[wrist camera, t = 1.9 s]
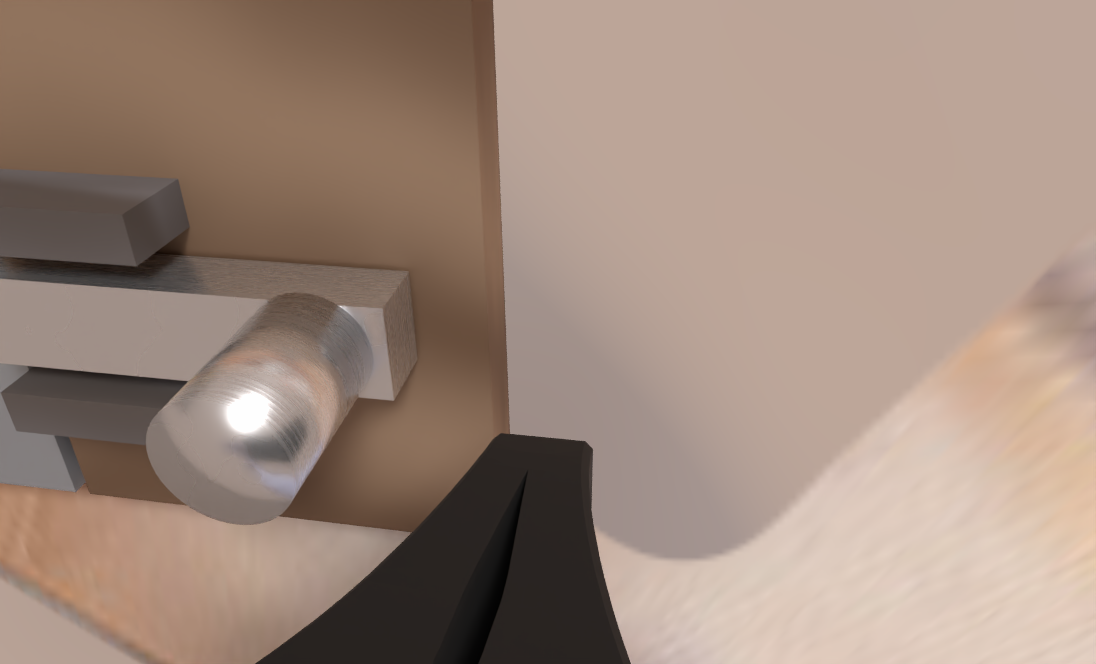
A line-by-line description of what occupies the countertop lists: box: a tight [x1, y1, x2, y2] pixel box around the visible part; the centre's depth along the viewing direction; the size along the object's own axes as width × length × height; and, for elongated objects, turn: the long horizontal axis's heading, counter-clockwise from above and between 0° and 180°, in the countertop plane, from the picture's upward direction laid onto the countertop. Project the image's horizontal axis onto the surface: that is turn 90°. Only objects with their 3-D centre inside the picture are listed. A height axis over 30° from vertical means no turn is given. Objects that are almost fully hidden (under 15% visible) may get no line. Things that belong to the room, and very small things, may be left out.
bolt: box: [0, 254, 418, 525], centre depth 15 cm, size 2×9×5 cm, turn 90°
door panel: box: [0, 0, 510, 532], centre depth 17 cm, size 12×11×3 cm
